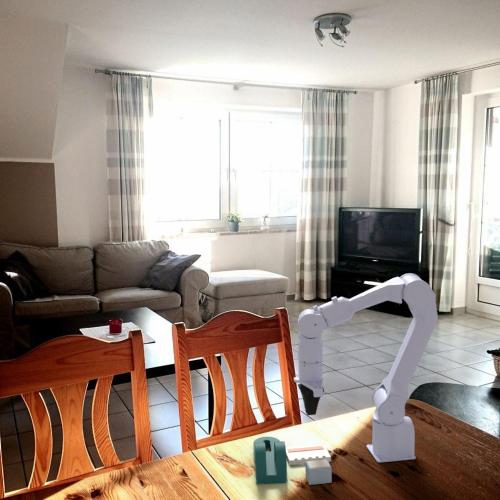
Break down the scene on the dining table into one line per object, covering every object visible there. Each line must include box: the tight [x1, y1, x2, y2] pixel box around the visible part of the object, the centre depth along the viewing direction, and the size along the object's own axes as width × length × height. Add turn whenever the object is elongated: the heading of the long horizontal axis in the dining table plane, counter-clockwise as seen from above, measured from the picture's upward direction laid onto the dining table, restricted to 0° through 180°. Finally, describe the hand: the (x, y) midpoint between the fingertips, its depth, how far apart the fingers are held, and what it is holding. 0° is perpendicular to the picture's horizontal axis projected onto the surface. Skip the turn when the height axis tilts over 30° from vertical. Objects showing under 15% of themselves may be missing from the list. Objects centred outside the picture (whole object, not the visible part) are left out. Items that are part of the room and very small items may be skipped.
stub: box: [304, 459, 333, 486], centre depth 121 cm, size 5×4×4 cm
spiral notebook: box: [286, 444, 332, 466], centre depth 131 cm, size 10×6×1 cm, turn 98°
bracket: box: [252, 436, 288, 485], centre depth 128 cm, size 18×7×8 cm, turn 2°
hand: (310, 413), depth 132 cm, fingers closed
